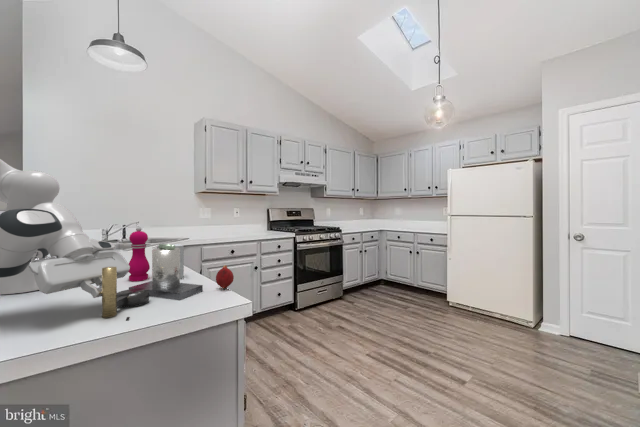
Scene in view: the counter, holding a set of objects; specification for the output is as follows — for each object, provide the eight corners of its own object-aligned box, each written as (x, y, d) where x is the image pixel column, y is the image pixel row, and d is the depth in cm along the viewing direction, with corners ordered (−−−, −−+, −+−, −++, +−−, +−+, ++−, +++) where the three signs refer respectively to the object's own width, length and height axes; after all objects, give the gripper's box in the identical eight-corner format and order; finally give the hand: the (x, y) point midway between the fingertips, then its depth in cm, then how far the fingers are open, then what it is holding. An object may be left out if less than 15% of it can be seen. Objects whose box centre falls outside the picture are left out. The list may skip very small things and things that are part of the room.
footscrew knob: (88, 317, 72) (88, 268, 72) (127, 298, 88) (127, 258, 88) (122, 317, 73) (122, 269, 73) (154, 298, 88) (154, 258, 88)
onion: (230, 291, 98) (230, 267, 98) (213, 291, 98) (213, 267, 98) (235, 286, 104) (235, 263, 103) (219, 286, 104) (219, 263, 103)
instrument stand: (68, 311, 77) (68, 252, 77) (154, 285, 103) (154, 241, 103) (127, 320, 71) (127, 256, 71) (202, 291, 97) (203, 244, 97)
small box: (178, 275, 119) (178, 243, 119) (183, 278, 114) (184, 245, 114) (156, 278, 113) (156, 245, 113) (160, 282, 109) (160, 246, 108)
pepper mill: (145, 276, 117) (145, 226, 117) (152, 279, 112) (152, 227, 112) (124, 279, 111) (124, 226, 111) (131, 283, 107) (131, 227, 106)
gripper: (31, 251, 67) (59, 298, 64) (118, 242, 86) (143, 278, 83) (18, 269, 68) (46, 316, 65) (107, 256, 88) (131, 292, 84)
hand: (101, 295), depth 74 cm, fingers closed, pressing on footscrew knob
